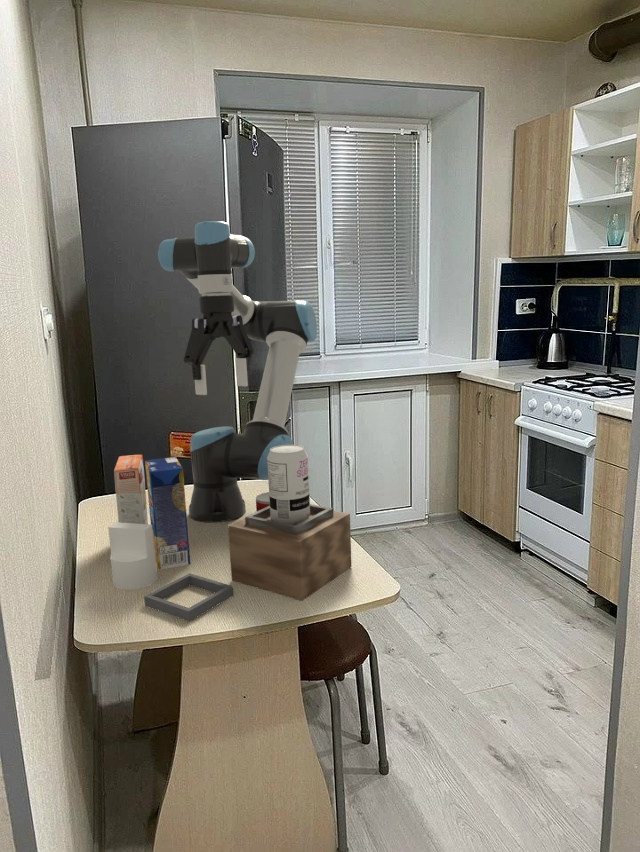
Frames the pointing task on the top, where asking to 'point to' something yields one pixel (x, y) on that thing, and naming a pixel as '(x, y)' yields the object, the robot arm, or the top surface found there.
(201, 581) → the base frame
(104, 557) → the top surface
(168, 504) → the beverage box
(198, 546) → the top surface
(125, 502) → the cracker box
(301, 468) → the supplement can
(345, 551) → the riser block
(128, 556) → the cylinder with rectangular tab
